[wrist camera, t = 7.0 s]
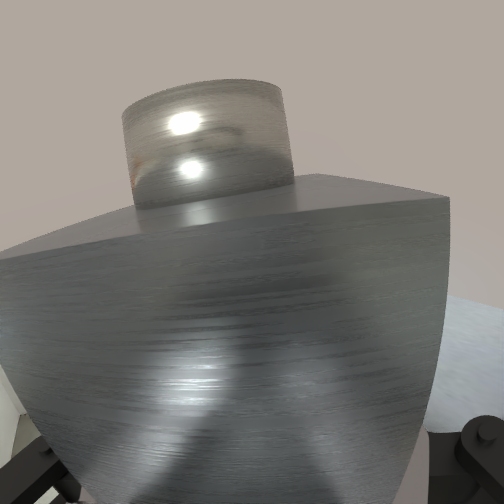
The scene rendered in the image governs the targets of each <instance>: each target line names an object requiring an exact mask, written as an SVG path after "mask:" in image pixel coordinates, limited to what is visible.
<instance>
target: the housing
mask: <svg viewBox="0 0 504 504" xmlns="http://www.w3.org/2000/svg"><path fill="white" fill-rule="evenodd" d="M122 123H123V132H124V140H125V148H126V154H127V162H128V169H129V175H130V182H131V188H132V194H133V199H134V205H132V206H129V207H126V208H122V209H119V210H116V211H113V212H110V213H106V214H103V215H100V216H97V217H94V218H91V219H88V220H85V221H82V222H79V223H76V224H73V225H71V226H67V227H65V228H62V229H59V230H56V231H53V232H51V233H48V234H45V235H42V236H40V237H37V238H34V239H32V240H29V241H27V242H24V243H22V244H19V245H16V246H14V247H11V248H9V249H6V250H4V251H1V252H0V364H1V366H2V368H3V370H4V372H5V374H6V376H7V378H8V380H9V382H10V384H11V386H12V388H13V389H14V391H15V393H16V395H17V396H18V398H19V400H20V402H21V403H22V405H23V407H24V408H25V410H26V412H27V413H28V415H29V416H30V418H31V419H32V421H33V423H34V424H35V426H36V427H37V429H38V430H39V432H40V433H41V434H42V436H43V437H44V439H45V440H46V442H47V443H48V444H49V446H50V447H51V448H52V450H53V451H54V453H55V454H56V455H57V456H58V458H59V459H60V460H61V462H62V463H63V464H64V465H65V467H66V468H67V469H68V470H69V471H70V473H71V474H72V475H73V476H74V477H75V479H76V480H77V481H78V482H79V483H80V484H81V486H82V487H83V488H84V489H85V490H86V491H87V492H88V493H89V494H90V495H91V496H92V498H93V499H94V500H95V501H96V502H97V503H98V504H392V503H393V501H394V499H395V496H396V494H397V492H398V489H399V487H400V485H401V482H402V480H403V477H404V475H405V472H406V470H407V467H408V464H409V462H410V459H411V456H412V453H413V451H414V448H415V445H416V442H417V439H418V436H419V432H420V429H421V426H422V423H423V419H424V416H425V412H426V408H427V405H428V401H429V397H430V393H431V389H432V385H433V380H434V376H435V371H436V366H437V361H438V356H439V350H440V344H441V338H442V332H443V325H444V317H445V309H446V300H447V289H448V276H449V257H450V199H449V197H447V196H443V195H438V194H433V193H429V192H424V191H420V190H415V189H409V188H404V187H399V186H394V185H388V184H383V183H376V182H371V181H365V180H359V179H352V178H345V177H339V176H331V175H324V174H309V175H301V176H294V170H293V163H292V156H291V149H290V142H289V136H288V129H287V123H286V117H285V111H284V104H283V98H282V93H281V89H280V88H279V87H277V86H276V85H273V84H270V83H267V82H263V81H256V80H246V79H224V80H212V81H203V82H196V83H191V84H186V85H181V86H177V87H173V88H170V89H166V90H163V91H160V92H157V93H155V94H152V95H150V96H147V97H145V98H143V99H141V100H139V101H137V102H135V103H134V104H132V105H131V106H129V107H128V108H127V109H126V110H125V111H124V112H123V114H122Z"/></svg>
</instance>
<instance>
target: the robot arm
mask: <svg viewBox="0 0 504 504" xmlns="http://www.w3.org/2000/svg"><path fill="white" fill-rule="evenodd" d="M52 486H53V488H54V489H55V490H56V491H57V492H58V493H59V495H58V496H57V497H56V498H55V499H54V500H53V501H51V502H50V503H49V504H98V503H97V502H96V501H95V500H94V499H93V498H92V496H91V495H90V494H89V493H88V492H87V491H86V490H85V489H84V488H83V487H82V486H81V484H80V483H79V482H78V481H77V480H76V479H75V477H74V476H73V475H72V474H71V473H70V471H69V470H68V469H67V468H66V467H65V465H64V464H63V463H62V462H61V460H60V459H59V458H58V456H57V455H56V454H55V453H54V451H53V450H52V448H51V447H50V446H49V444H48V443H47V442H46V440H45V439H44V437H43V436H40V437H38V438H36V439H35V440H34V441H33V442H31V443H30V444H29V445H28V446H27V447H25V448H24V449H23V450H22V451H21V452H19V453H18V454H17V455H16V456H15V457H14V458H12V459H11V460H10V461H9V462H8V463H6V464H5V465H4V466H3V467H2V468H0V504H34V503H35V502H36V501H37V500H38V499H39V498H40V497H41V496H42V495H43V494H44V493H45V492H47V491H48V490H49V489H50V488H51V487H52ZM392 504H504V421H503V420H501V419H500V418H498V417H495V416H490V415H484V416H479V417H476V418H473V419H472V420H470V421H469V422H468V423H467V424H466V425H465V426H464V428H463V429H462V432H452V433H432V432H428V431H426V429H425V428H424V427H423V426H421V429H420V432H419V436H418V439H417V442H416V445H415V448H414V451H413V453H412V456H411V459H410V462H409V464H408V467H407V470H406V472H405V475H404V477H403V480H402V482H401V485H400V487H399V489H398V492H397V494H396V496H395V499H394V501H393V503H392Z"/></svg>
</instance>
